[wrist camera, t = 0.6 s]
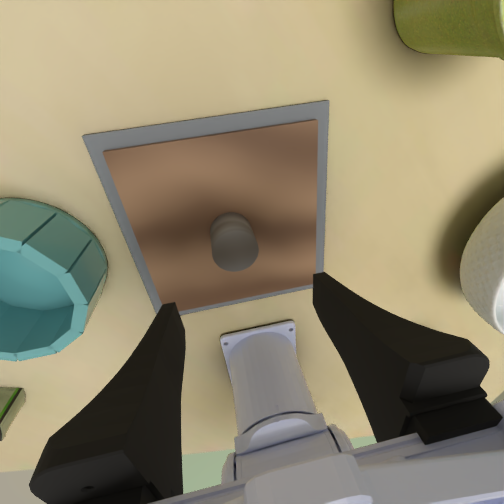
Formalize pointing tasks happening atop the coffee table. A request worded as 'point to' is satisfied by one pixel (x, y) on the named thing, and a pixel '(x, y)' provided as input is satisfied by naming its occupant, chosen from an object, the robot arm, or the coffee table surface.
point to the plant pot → (452, 26)
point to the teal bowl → (45, 278)
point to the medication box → (9, 407)
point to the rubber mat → (201, 128)
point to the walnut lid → (223, 211)
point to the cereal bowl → (486, 268)
